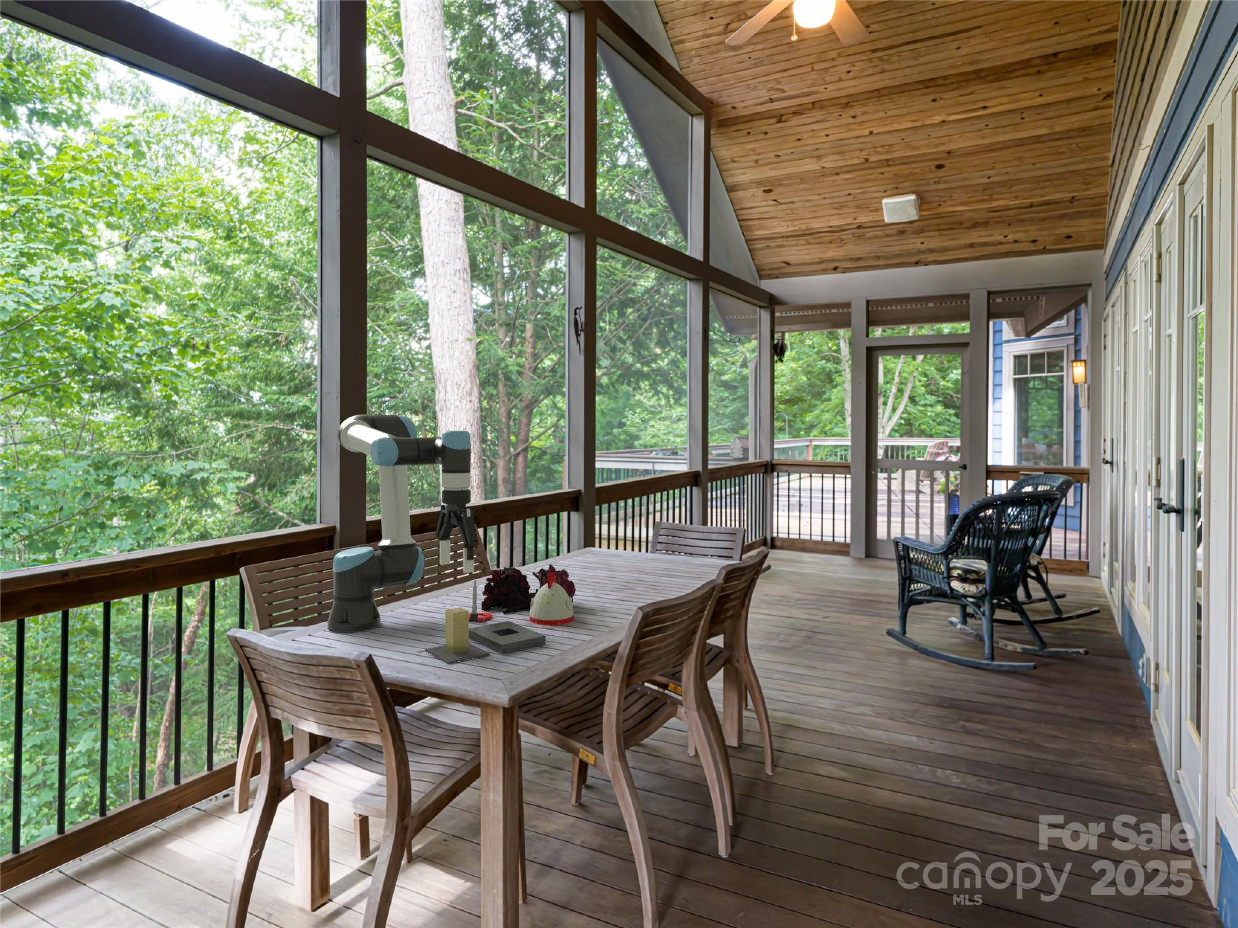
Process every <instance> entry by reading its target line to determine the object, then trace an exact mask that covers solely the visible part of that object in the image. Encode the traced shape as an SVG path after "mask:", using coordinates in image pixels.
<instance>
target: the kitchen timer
mask: <svg viewBox="0 0 1238 928" xmlns="http://www.w3.org/2000/svg"><path fill="white" fill-rule="evenodd" d="M538 590H539V591H538V592H537V594H536V596H535V597H534V599H533V598H532V600H531V606H530V608H531V609H530V610H529V622H530V623H532V624H535V625H541V626H559V625H566V623H567V624H569V623H572V622H573V621H574V618H575V617H574V613H575V612H574V606H573V603H572V599H571V597H570V598H569V596H568V594H567V593H566V591H565V590H564V589H563V588H562V587H561V586H560V585H559V584H557V583H556V577H555V575H554V572H551V573H550V575H548V580H547V584H545V585H544V586H542V587H541V588H540V589H539V588H538ZM571 621H572V622H571Z"/></svg>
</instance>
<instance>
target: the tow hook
mask: <svg viewBox="0 0 1238 928" xmlns="http://www.w3.org/2000/svg"><path fill="white" fill-rule="evenodd" d="M477 588H478V587H477V580H476V579H474V580H473V587H472V604H471V613H469V622H471V621H476V622H475V623H477V621H478V622H479V623H485V621H487V620H490V619H491V620H492V618H493V614H492V613H489V612H478V605H477V591H478V590H477ZM478 615H482V616H478Z"/></svg>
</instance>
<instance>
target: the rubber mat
mask: <svg viewBox="0 0 1238 928" xmlns="http://www.w3.org/2000/svg"><path fill="white" fill-rule="evenodd" d="M425 651H426V652H425ZM424 652H425V653H427V652H428V653H427V654H429V653H430V654H429V655H431V654H432V655H431V656H433V655H434V656H435V657H434V656H433V657H434V658H437V659H438V660H440V661H441V660H442V662H443V661H444V662H443V663H445V662H446V663H445V664H447V665H452V664H455V663H454V662H457V663H459V662H458V661H461V662H465V661H464V660H466V661H468V660H467V659H471V660H473V659H472V658H475V659H479V658H478V657H480V658H483V657H482V656H484V657H489V656H491V652H489V651H486V650H485V649H482V648H481V647H479V646H476V645H474V644H472V643H470V642H469V651H468V652H464V653H459V654H454V655H453V654H451V653H449V652H447V651H446V644H444V645H438V646H434V647H428V648H425V649H424ZM451 663H452V664H451Z"/></svg>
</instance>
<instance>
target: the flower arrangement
mask: <svg viewBox="0 0 1238 928" xmlns="http://www.w3.org/2000/svg"><path fill="white" fill-rule="evenodd" d="M551 572H554V575H555V577H556V583H557V584H559V585H560V586H561V587H562V588H563V589H564V590H565V591H566V593H567V594H568V596H569V598H570V597H571V599H572V604H573V602H574V596H575V595H576V590H577V589H576V585H575V583H574V581H573V580H570V579H569V576H570V574H569V572H568V571H567V570H566V569H561V570H559V569H558V570H557V569H556V567H554V565H553V564H550V563H549V565H548V568H547V569H545V568H543V567H541V568H540V569H539V570H538V571H537V572H535V571H532V575H533V576H534V577H535V578H536V579H537V580H538V582H539V588H535V592H530V589H531V586H530V582H529V581H528V575H527V574H523V573H522V571H521V570H520V569H518V568H516V567H514V566H513V567H512V566H508V567H506V566H504V567H503V569H501V568H499V570H492V571H491V573H490V574H491V577H487V578H485V581H486V583H485V584H484V586H483V587H484V588H483V591H482V592H481V594H482V595H483V596H485V597H484V598H483V600H482V601H481V604H480V605H481V609H480V610H484V611H483V612H488V611H487V610H489V611H491V609H492V608H491V607H494V608H500V607H501V608H500V609H504V610H501V612H502V613H503V614H504V615H506V614H510V613H515V612H519V611H527V610H529V611H530V609H531V608H530V606H531V600H532V598H533V599H534V597H535V596H536V594H537V592H538V591H539V589H540V588H541V587H542V586H544V585H545V584H547V580H548V575H550V573H551Z"/></svg>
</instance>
